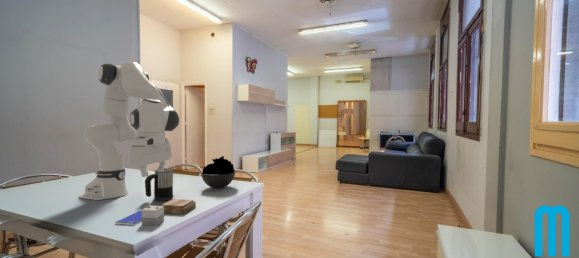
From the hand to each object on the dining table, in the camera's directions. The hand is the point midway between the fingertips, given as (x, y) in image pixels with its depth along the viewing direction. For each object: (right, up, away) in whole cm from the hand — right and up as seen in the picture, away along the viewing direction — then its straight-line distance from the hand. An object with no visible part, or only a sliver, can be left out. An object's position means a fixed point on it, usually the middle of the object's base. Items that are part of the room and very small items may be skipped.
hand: (153, 174), depth 100 cm
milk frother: (-10, -19, +30) cm, 37 cm away
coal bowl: (+11, -18, +53) cm, 58 cm away
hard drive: (-9, -20, +4) cm, 23 cm away
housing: (0, -20, 0) cm, 20 cm away
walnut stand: (+3, -19, +15) cm, 25 cm away
